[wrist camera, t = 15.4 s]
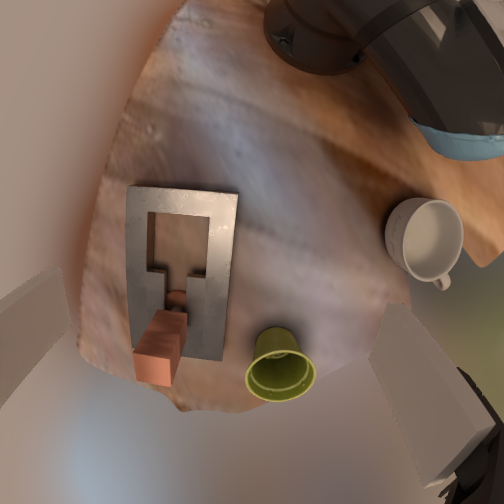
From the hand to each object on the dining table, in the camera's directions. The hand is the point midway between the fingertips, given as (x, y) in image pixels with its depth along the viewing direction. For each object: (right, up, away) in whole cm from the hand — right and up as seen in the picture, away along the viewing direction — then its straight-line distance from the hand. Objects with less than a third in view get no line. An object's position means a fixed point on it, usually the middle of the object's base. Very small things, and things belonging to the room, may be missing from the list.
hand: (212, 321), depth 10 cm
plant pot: (+5, -11, +34) cm, 36 cm away
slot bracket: (-9, 0, +30) cm, 31 cm away
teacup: (+25, +5, +29) cm, 39 cm away
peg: (-9, -6, +32) cm, 33 cm away
